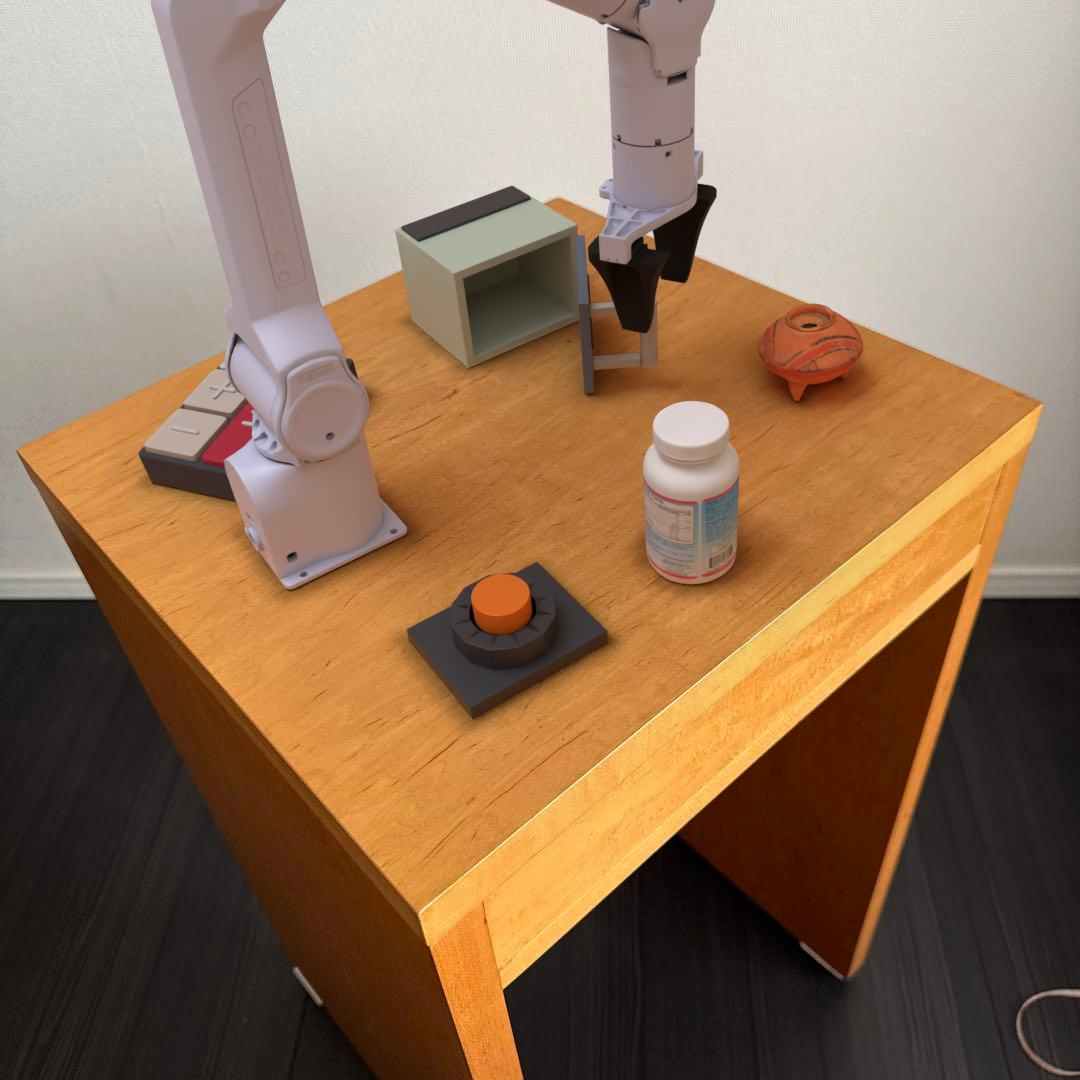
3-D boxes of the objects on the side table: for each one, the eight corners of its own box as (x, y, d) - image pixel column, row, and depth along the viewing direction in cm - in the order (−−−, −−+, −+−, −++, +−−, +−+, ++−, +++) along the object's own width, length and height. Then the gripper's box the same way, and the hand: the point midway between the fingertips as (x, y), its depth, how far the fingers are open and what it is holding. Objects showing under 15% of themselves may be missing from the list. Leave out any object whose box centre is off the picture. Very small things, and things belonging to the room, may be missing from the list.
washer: (468, 368, 95) (452, 269, 88) (411, 321, 101) (393, 225, 95) (584, 318, 99) (577, 220, 93) (522, 275, 106) (512, 181, 99)
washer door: (659, 388, 90) (658, 298, 84) (584, 393, 90) (578, 304, 84) (649, 316, 98) (648, 229, 92) (581, 321, 98) (575, 235, 92)
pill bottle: (721, 519, 78) (726, 386, 71) (747, 579, 74) (755, 443, 66) (636, 534, 78) (631, 401, 70) (657, 595, 73) (654, 460, 66)
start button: (494, 644, 68) (490, 624, 67) (463, 610, 70) (460, 590, 69) (543, 617, 69) (541, 597, 68) (512, 585, 71) (509, 565, 70)
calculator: (131, 446, 84) (238, 332, 94) (151, 488, 87) (253, 373, 97) (254, 472, 81) (353, 350, 90) (270, 515, 84) (364, 393, 93)
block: (472, 720, 67) (466, 687, 65) (409, 641, 72) (401, 609, 70) (608, 643, 70) (606, 610, 68) (538, 573, 76) (534, 541, 74)
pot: (856, 415, 85) (843, 339, 81) (757, 417, 89) (739, 345, 85) (877, 355, 90) (866, 281, 86) (782, 360, 94) (767, 289, 90)
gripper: (641, 85, 83) (644, 251, 92) (553, 167, 74) (567, 342, 83) (731, 94, 80) (726, 264, 90) (652, 180, 71) (655, 360, 80)
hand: (655, 303), depth 86 cm, fingers open, 7 cm apart
